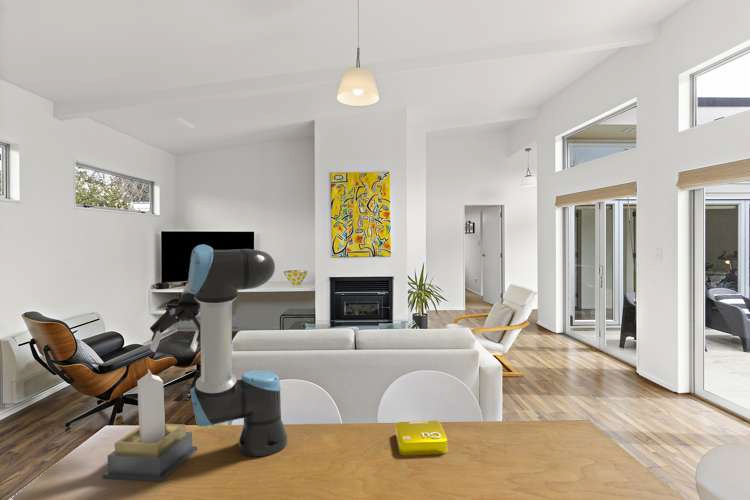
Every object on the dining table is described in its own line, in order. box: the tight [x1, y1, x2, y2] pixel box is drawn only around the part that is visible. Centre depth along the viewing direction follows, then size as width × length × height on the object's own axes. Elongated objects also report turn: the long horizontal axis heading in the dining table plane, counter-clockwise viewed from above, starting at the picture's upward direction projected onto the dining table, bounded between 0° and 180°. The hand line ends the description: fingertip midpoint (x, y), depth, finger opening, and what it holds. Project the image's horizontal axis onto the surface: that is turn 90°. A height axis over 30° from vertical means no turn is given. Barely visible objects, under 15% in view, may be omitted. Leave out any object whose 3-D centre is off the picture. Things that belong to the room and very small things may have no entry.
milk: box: [137, 368, 166, 443], centre depth 128 cm, size 6×6×22 cm
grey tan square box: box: [102, 423, 198, 483], centre depth 128 cm, size 18×18×9 cm
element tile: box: [395, 420, 449, 456], centre depth 136 cm, size 15×15×5 cm
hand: (172, 350), depth 141 cm, fingers open, 13 cm apart
